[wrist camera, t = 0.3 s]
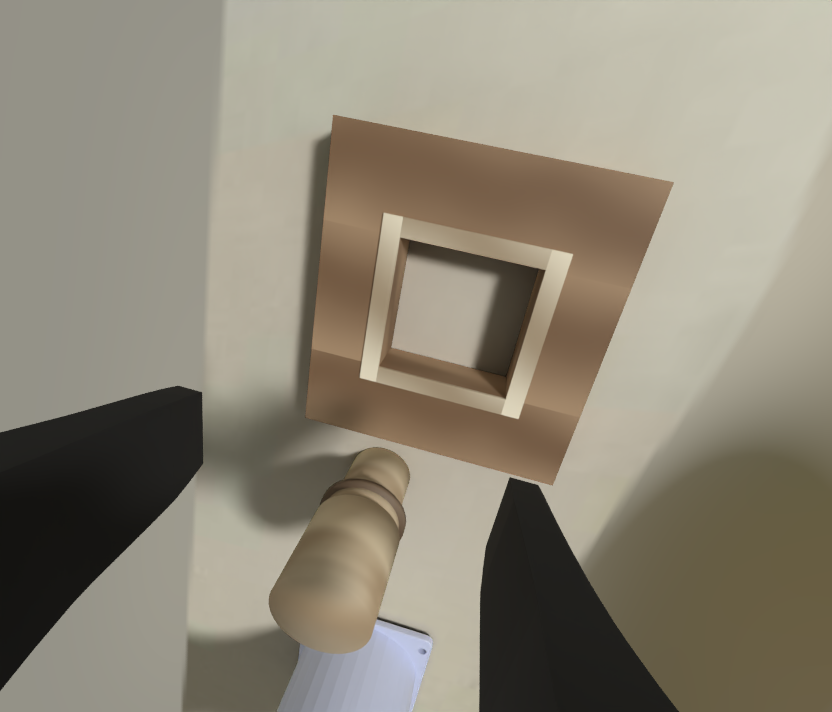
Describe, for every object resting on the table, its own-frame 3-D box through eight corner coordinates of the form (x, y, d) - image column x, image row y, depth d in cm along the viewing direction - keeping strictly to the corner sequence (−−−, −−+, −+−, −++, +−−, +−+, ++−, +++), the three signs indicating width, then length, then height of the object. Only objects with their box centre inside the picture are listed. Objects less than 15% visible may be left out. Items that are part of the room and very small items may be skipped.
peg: (411, 512, 23) (366, 667, 16) (340, 491, 24) (265, 634, 16) (425, 451, 22) (382, 595, 14) (349, 430, 22) (270, 560, 15)
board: (548, 457, 20) (552, 487, 18) (322, 396, 21) (304, 418, 20) (654, 180, 15) (674, 182, 13) (352, 120, 16) (332, 114, 15)
